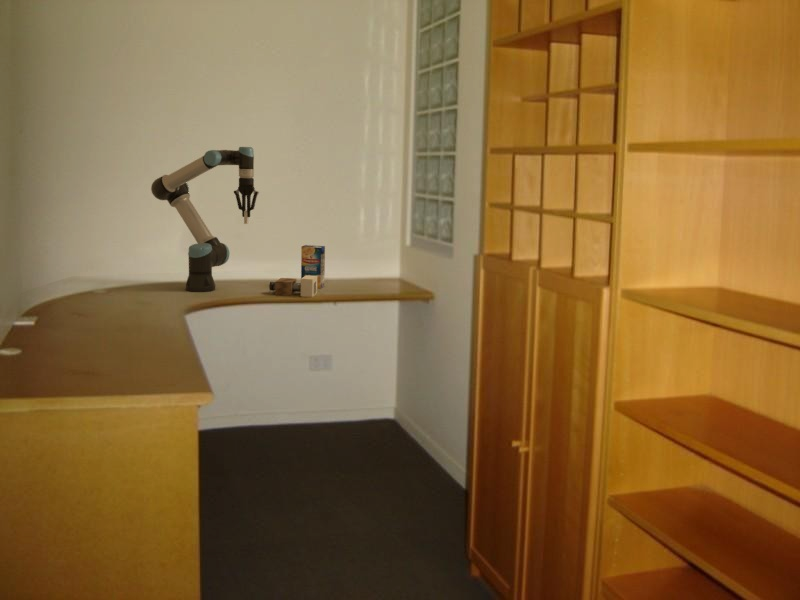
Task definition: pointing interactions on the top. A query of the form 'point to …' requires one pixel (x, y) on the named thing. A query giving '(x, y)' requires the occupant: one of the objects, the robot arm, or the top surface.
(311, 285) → the socket
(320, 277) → the beverage box
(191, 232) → the robot arm
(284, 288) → the sleeve
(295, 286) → the tube
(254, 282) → the top surface
